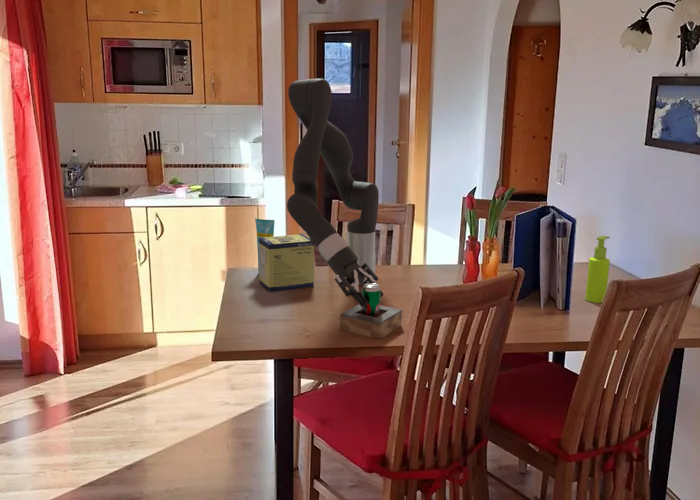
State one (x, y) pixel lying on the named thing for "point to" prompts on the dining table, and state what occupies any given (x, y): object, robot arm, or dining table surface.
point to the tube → (264, 231)
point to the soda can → (371, 300)
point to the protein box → (286, 262)
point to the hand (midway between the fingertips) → (373, 301)
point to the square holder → (371, 322)
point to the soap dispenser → (597, 273)
